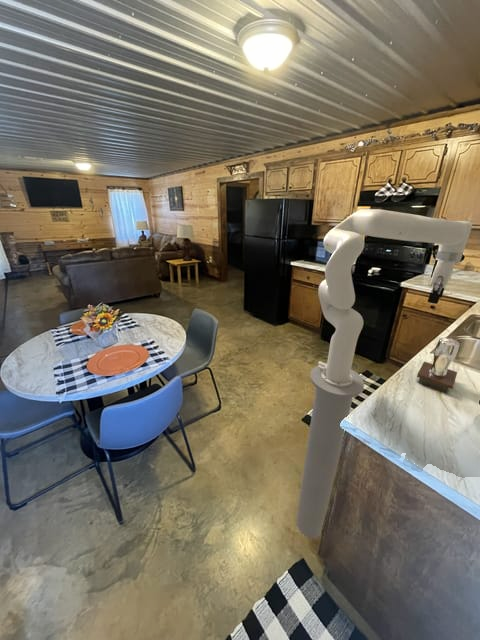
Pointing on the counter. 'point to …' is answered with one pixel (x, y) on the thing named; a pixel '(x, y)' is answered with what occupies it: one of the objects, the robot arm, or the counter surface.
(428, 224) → the robot arm
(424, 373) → the lidded box
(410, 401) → the counter surface
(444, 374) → the beer glass
